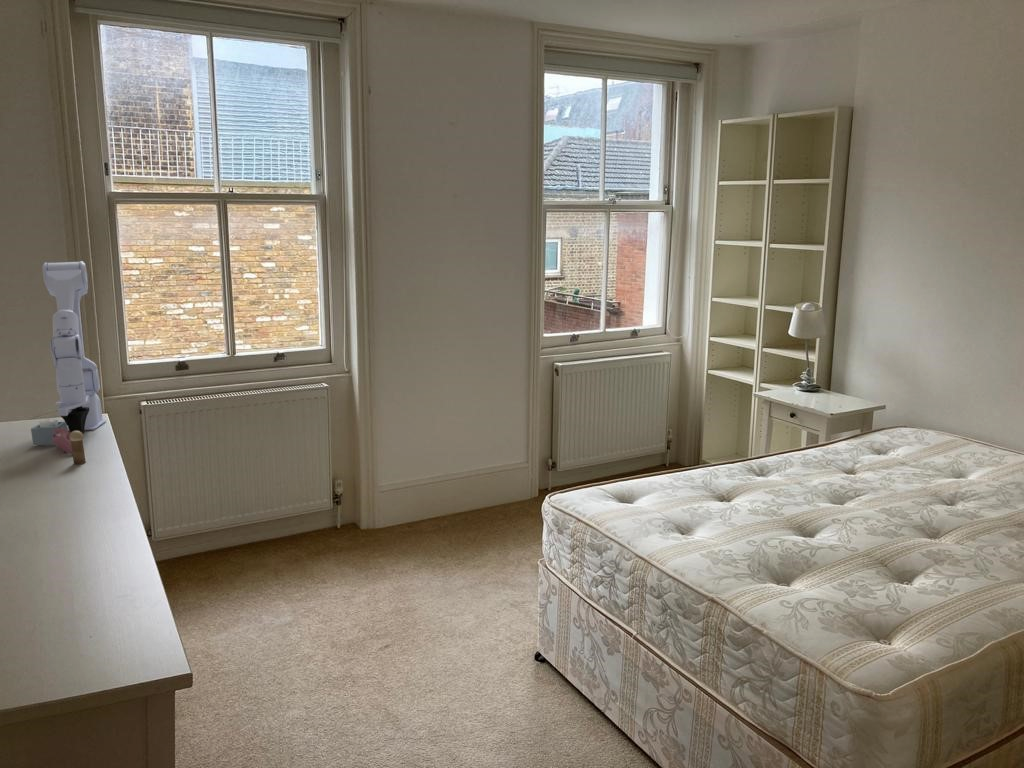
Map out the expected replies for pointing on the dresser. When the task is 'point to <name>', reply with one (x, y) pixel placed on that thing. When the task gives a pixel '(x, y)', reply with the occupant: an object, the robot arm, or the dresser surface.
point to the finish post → (77, 447)
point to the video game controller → (62, 439)
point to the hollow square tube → (45, 434)
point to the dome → (48, 423)
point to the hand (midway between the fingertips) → (78, 437)
